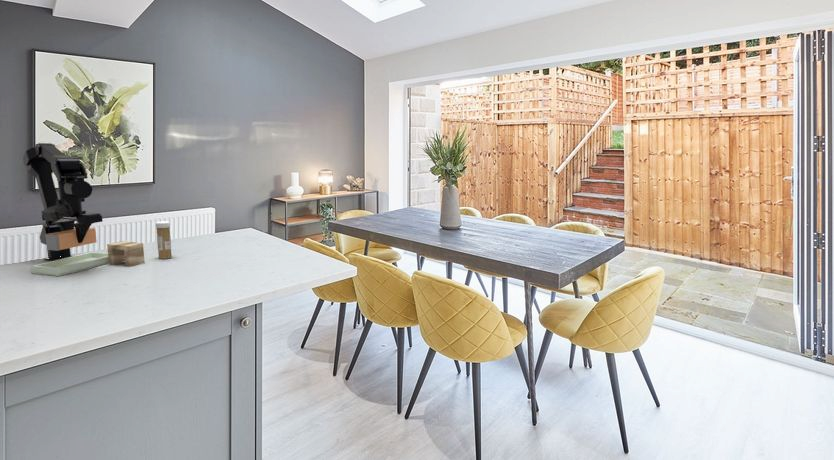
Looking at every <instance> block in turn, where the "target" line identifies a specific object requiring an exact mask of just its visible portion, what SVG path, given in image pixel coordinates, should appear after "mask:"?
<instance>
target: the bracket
mask: <svg viewBox="0 0 834 460" xmlns="http://www.w3.org/2000/svg"><path fill="white" fill-rule="evenodd" d="M106 245H107V246H106V247H107V253H108V260H109V263H108V265H114V266H115V265H117V264H121V263H125V266H126V267H134V266H136V265H140V264H143V263H145V251H144V242H137V241H125V240H121V241H117V242H112V243H111V242H110V243H107V244H106Z"/></svg>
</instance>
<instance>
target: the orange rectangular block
mask: <svg viewBox="0 0 834 460" xmlns="http://www.w3.org/2000/svg"><path fill="white" fill-rule="evenodd" d="M96 230H97V229H96V228H95V227H90V228H89V229H88V231H87V233H86V235H85V237H84V240H83V242H82V243H78V240H77V235H76V229H73V230H67V231H62V232H56V233H50V234H45V237H46V251H47V250H55V251H58V250H63V249H67V248H70V249H71V248H76V247H81V246H85V245H91V244H95V243H97V232H96Z"/></svg>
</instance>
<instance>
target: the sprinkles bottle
mask: <svg viewBox="0 0 834 460" xmlns="http://www.w3.org/2000/svg"><path fill="white" fill-rule="evenodd" d="M170 227H171V223H170V221H166V220H165V221H164V220H163V221H162V220H161V221H156V222H155V228H156V241H157V242H156V243H157V251H158V259H160V260H161V259H162V260H167V259H171V258H172V257H173V255H172V241H171V231H170V230H171V228H170Z"/></svg>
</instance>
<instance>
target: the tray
mask: <svg viewBox="0 0 834 460" xmlns="http://www.w3.org/2000/svg"><path fill="white" fill-rule="evenodd" d="M71 256H72V257H68V258H63V259H59V260H55V261H50V260H49V261H45V262H42V263H38V264H33V265H30V271H31V274H33V275H34V274H35V275H42V276H43V275H45V276H52V277H62V276H66V275H70V274H73V273H78V272H81V271H86V270H89V269H92V268H97V267H100V266H103V265H107V264H108V265H109V260H108V252H98V251H91V252H85V253H81V254H77V255H71Z"/></svg>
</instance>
